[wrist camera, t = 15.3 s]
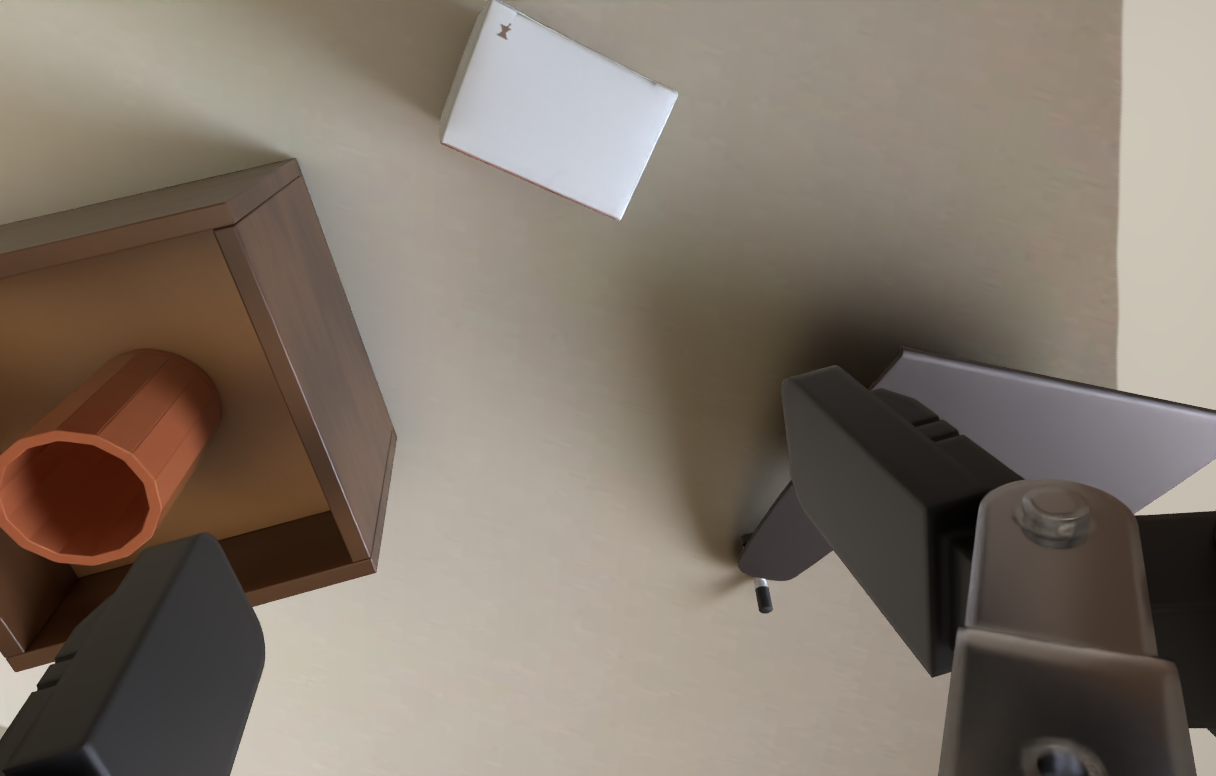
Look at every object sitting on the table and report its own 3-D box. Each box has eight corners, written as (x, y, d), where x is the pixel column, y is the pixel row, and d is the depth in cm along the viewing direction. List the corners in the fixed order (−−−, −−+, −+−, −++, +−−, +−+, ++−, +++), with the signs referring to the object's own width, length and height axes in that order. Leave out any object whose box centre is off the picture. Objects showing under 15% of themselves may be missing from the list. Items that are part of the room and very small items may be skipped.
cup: (65, 366, 32) (-48, 456, 25) (193, 335, 33) (119, 413, 25) (122, 471, 34) (33, 582, 27) (242, 440, 35) (186, 541, 27)
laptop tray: (695, 492, 57) (712, 610, 51) (860, 254, 41) (915, 385, 34) (956, 528, 63) (1000, 637, 57) (1193, 332, 46) (1289, 456, 40)
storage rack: (-19, 229, 37) (-243, 309, 25) (296, 157, 38) (225, 201, 26) (133, 506, 43) (14, 673, 32) (397, 437, 45) (377, 573, 33)
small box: (437, 121, 38) (432, 142, 29) (479, 9, 37) (488, -9, 27) (582, 187, 41) (621, 226, 31) (627, 85, 39) (682, 93, 30)
